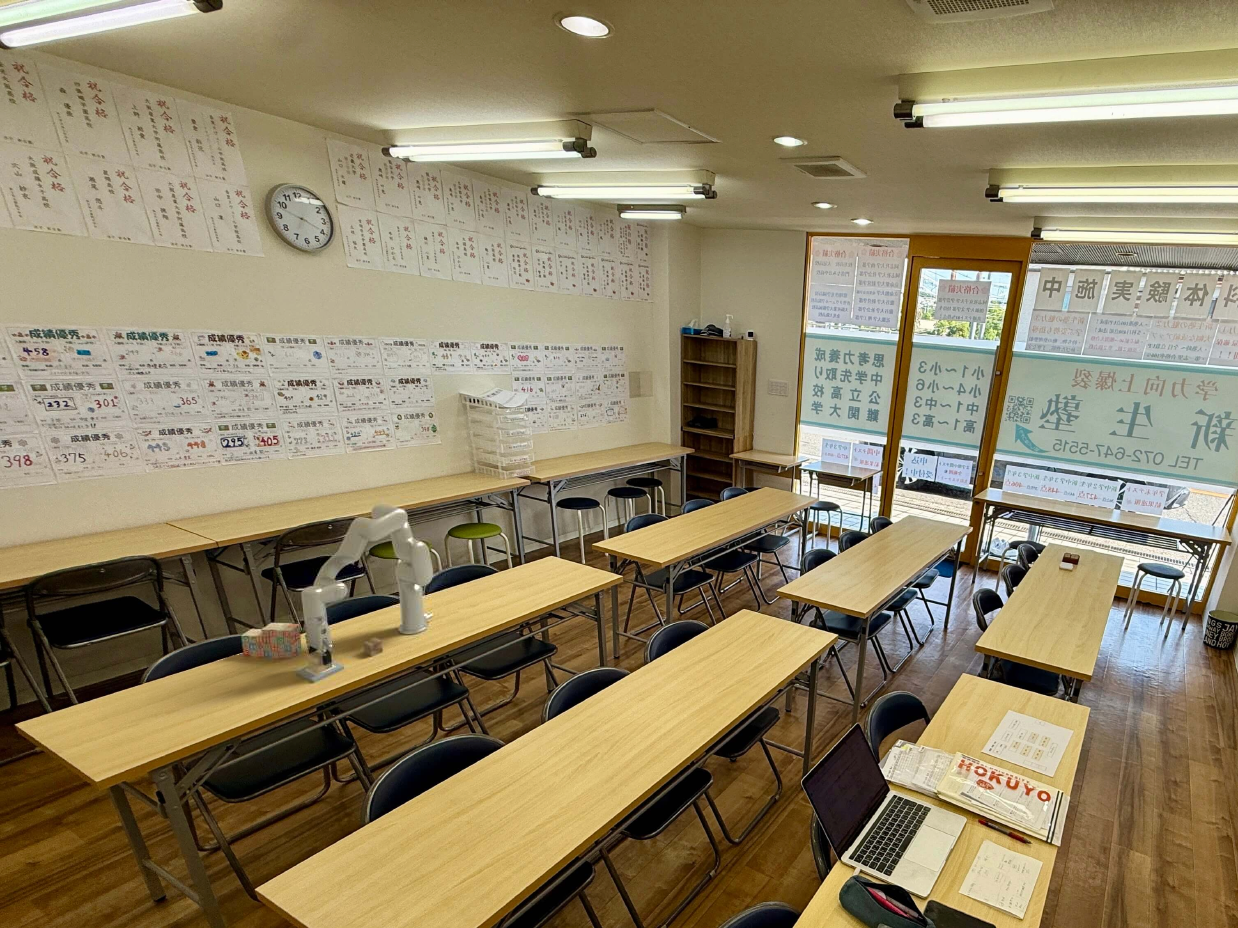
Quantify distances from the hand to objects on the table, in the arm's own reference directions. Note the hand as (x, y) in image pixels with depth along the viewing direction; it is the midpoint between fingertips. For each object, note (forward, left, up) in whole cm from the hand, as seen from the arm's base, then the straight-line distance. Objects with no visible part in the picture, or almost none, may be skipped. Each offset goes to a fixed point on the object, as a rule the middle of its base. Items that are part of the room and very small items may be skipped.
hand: (320, 660), depth 223 cm
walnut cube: (-20, +4, -5) cm, 20 cm away
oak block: (0, 0, -3) cm, 3 cm away
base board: (0, 0, -4) cm, 4 cm away
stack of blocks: (+4, -30, -5) cm, 30 cm away
